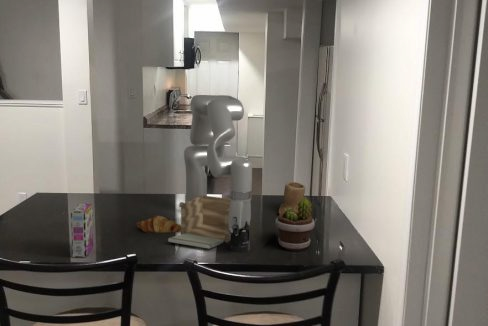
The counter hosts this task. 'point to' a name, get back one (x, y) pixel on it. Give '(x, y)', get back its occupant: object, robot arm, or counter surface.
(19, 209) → the counter surface
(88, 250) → the candy bar box
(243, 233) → the supplement bottle
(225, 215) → the crate
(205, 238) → the panel
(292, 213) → the flowerpot
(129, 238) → the counter surface
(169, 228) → the croissant
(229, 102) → the robot arm
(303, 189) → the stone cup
